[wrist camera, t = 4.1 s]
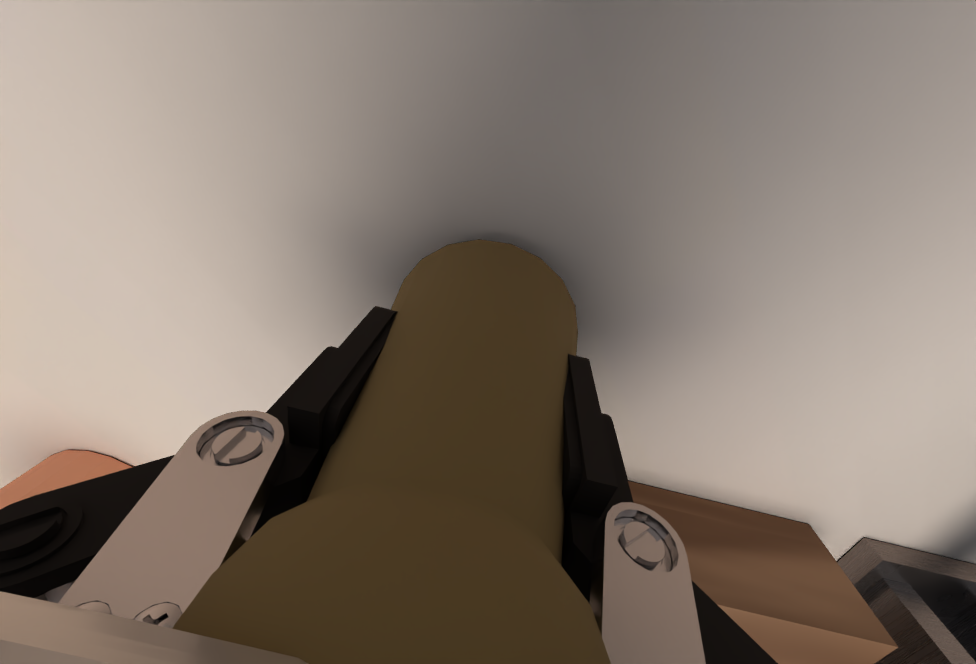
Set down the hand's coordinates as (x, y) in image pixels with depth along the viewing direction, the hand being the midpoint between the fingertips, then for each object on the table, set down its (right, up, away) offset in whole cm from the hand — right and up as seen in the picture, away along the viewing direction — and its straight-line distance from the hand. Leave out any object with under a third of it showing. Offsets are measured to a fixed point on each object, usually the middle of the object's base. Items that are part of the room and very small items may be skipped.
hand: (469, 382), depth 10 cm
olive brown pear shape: (0, +1, +3) cm, 3 cm away
